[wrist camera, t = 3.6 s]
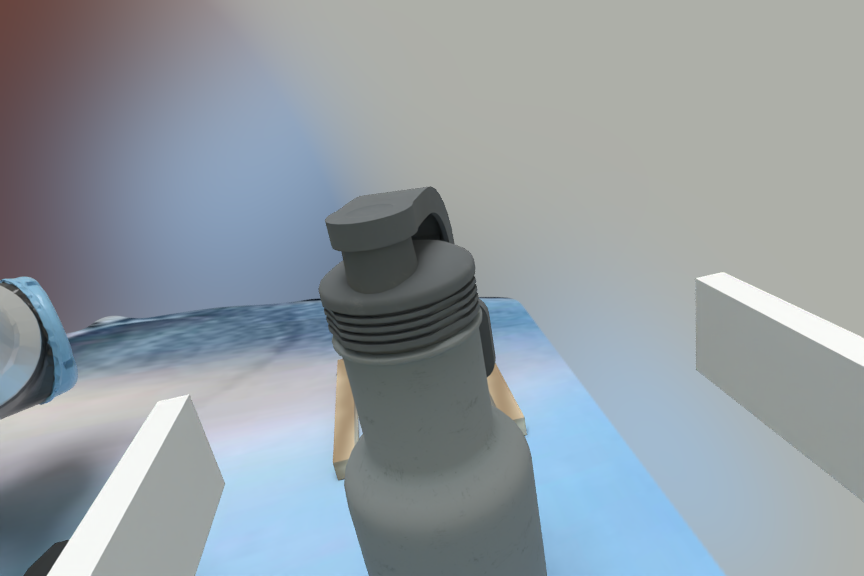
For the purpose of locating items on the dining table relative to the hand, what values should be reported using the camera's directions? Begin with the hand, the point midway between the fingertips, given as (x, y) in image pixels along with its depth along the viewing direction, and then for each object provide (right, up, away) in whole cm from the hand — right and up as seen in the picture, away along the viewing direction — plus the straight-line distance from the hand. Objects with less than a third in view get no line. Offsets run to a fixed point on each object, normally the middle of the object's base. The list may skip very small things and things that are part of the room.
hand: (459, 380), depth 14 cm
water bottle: (+2, -20, +19) cm, 28 cm away
